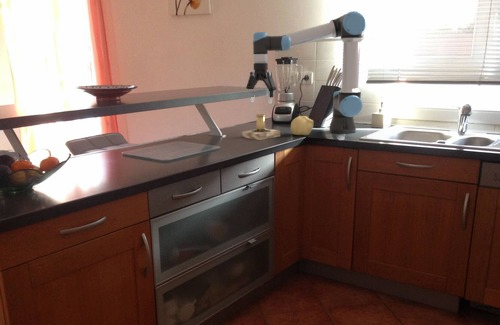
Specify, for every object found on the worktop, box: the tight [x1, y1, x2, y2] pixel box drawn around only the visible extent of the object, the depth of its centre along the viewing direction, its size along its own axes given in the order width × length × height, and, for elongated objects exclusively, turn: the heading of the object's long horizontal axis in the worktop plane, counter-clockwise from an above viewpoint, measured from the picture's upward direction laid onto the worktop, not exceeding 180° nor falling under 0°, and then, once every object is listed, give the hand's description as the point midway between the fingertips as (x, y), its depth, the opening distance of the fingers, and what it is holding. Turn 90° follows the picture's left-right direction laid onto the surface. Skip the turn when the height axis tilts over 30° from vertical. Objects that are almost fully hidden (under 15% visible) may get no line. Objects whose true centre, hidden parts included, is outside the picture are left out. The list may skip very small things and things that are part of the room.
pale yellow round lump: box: [290, 115, 315, 136], centre depth 246 cm, size 11×12×11 cm
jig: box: [241, 128, 281, 141], centre depth 243 cm, size 14×16×3 cm
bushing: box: [255, 113, 266, 132], centre depth 242 cm, size 5×5×12 cm
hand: (261, 102), depth 239 cm, fingers open, 13 cm apart
